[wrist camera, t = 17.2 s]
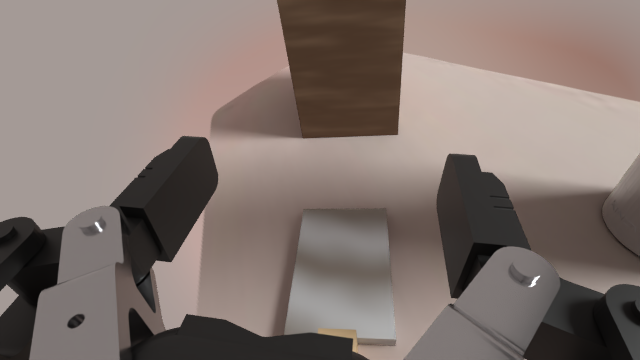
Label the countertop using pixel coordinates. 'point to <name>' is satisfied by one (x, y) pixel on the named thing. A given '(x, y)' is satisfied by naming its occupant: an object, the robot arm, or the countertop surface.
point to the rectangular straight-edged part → (343, 277)
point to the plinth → (345, 64)
